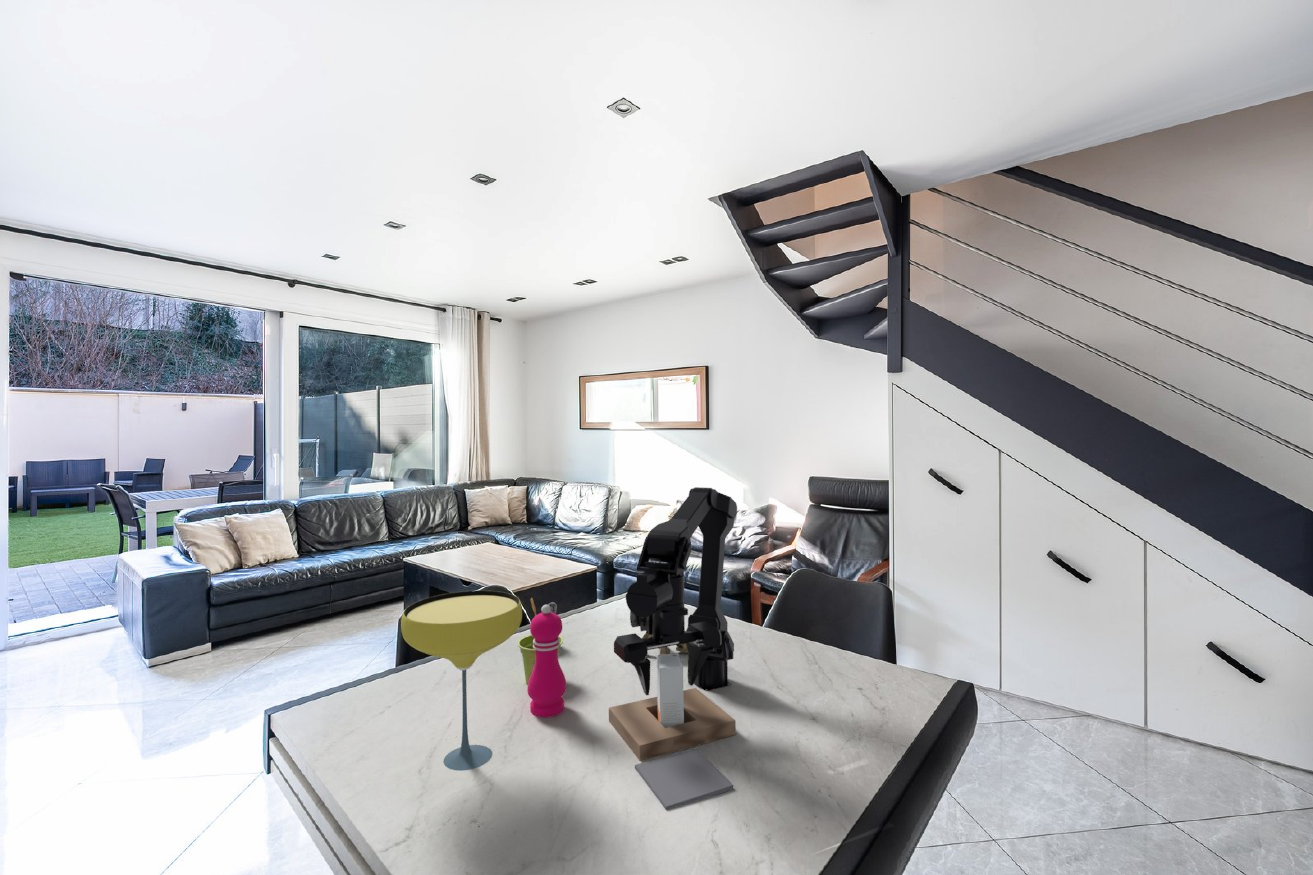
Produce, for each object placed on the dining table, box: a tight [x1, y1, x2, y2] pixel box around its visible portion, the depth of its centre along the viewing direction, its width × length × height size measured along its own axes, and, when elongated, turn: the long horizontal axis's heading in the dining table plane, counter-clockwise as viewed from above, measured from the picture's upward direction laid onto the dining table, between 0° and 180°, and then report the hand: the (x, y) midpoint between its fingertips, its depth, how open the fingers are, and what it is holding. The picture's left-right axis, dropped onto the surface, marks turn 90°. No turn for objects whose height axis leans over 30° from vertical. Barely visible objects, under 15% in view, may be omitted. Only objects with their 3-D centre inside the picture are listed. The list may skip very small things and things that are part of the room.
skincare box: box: [656, 653, 684, 728], centre depth 100 cm, size 6×4×12 cm
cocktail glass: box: [400, 590, 523, 772], centre depth 90 cm, size 18×18×25 cm
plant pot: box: [517, 634, 564, 685], centre depth 119 cm, size 9×9×9 cm
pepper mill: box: [527, 604, 567, 718], centre depth 107 cm, size 7×7×20 cm
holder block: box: [608, 687, 737, 762], centre depth 100 cm, size 18×14×2 cm
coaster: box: [634, 747, 735, 811], centre depth 85 cm, size 11×11×1 cm
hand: (668, 689), depth 100 cm, fingers open, 8 cm apart
